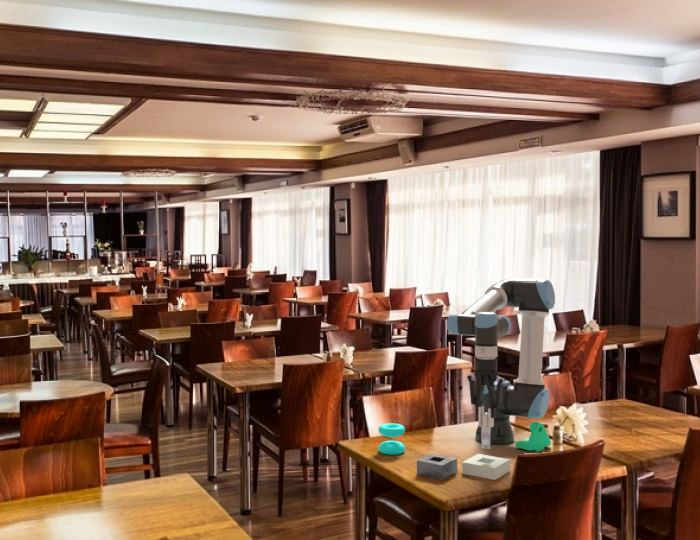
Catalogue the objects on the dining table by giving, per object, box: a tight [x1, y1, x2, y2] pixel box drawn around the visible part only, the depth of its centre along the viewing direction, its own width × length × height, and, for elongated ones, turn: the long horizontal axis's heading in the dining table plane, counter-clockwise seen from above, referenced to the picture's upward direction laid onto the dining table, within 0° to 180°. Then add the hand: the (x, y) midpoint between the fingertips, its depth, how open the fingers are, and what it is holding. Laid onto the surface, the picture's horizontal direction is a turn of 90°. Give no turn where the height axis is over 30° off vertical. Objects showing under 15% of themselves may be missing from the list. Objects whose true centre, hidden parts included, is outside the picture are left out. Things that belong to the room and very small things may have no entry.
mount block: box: [416, 452, 458, 481], centre depth 254 cm, size 10×10×5 cm
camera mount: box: [514, 421, 552, 452], centre depth 285 cm, size 12×8×10 cm, turn 126°
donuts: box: [378, 422, 406, 456], centre depth 281 cm, size 10×10×10 cm
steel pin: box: [481, 412, 491, 450], centre depth 255 cm, size 3×3×12 cm
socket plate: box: [461, 453, 511, 481], centre depth 255 cm, size 12×12×4 cm
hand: (486, 426), depth 255 cm, fingers closed on steel pin, 3 cm apart
